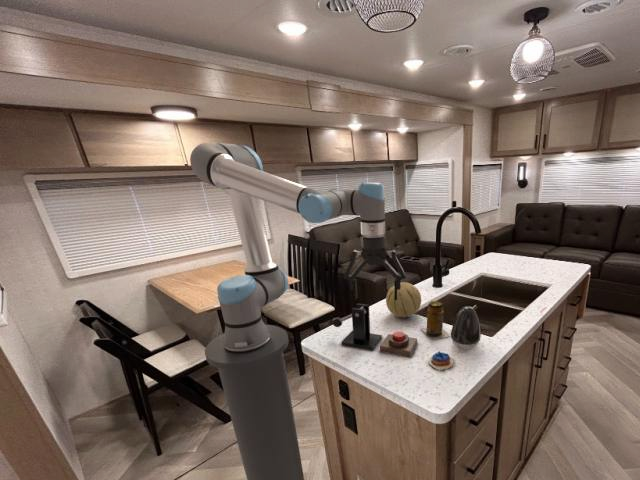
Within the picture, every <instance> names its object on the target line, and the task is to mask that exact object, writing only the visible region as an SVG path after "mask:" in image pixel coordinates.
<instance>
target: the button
mask: <svg viewBox="0 0 640 480" xmlns="http://www.w3.org/2000/svg"><path fill="white" fill-rule="evenodd" d="M392 334H393V339H394V340H395V341H403V340H404V339H405V334H406V333H405V332H403V331H402V330H401V331H399V330H397V331H394V332H393V333H392Z"/></svg>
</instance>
